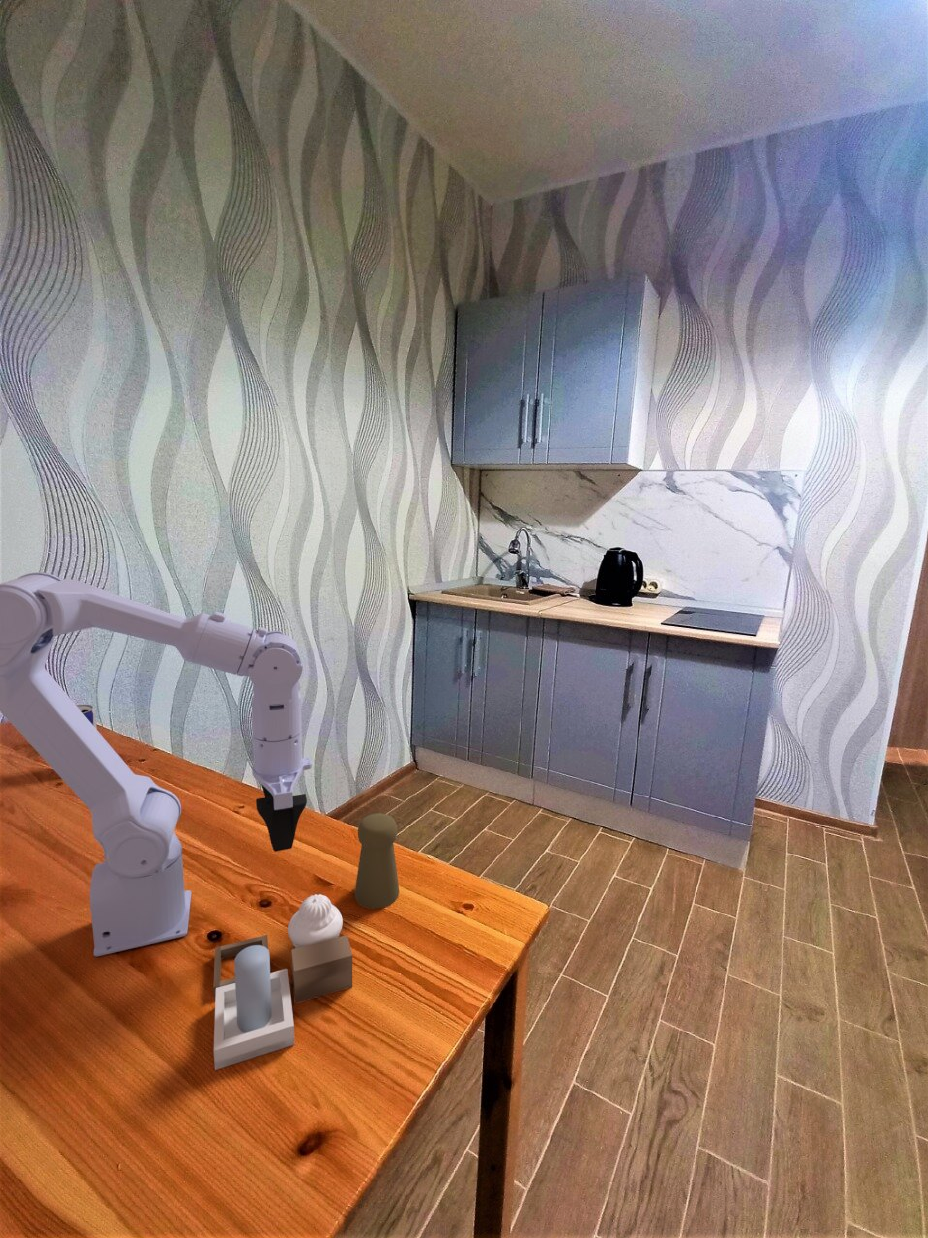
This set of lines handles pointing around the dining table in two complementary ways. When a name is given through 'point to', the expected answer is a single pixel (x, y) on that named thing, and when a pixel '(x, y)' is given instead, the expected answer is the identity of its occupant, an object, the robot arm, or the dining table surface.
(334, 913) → the muffin
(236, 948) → the socket
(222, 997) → the dish
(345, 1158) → the dining table surface
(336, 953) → the block
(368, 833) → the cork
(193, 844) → the dining table surface
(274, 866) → the dining table surface
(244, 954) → the dowel
